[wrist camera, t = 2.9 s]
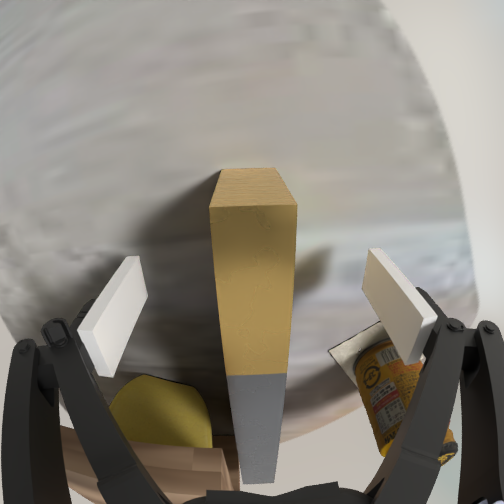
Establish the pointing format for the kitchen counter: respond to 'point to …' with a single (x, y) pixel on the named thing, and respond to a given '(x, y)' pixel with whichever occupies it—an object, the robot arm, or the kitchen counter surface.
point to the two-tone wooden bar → (254, 306)
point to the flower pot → (162, 413)
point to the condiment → (384, 384)
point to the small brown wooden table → (162, 467)
